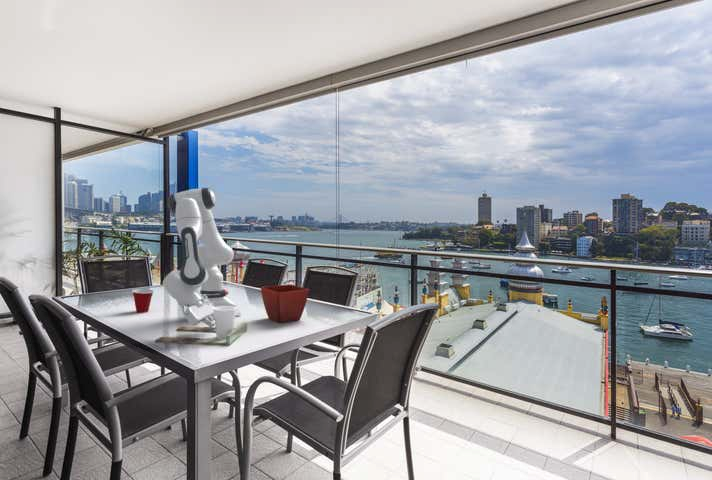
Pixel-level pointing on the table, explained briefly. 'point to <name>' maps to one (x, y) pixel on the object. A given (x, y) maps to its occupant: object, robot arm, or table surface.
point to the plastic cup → (142, 299)
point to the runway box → (228, 341)
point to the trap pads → (198, 338)
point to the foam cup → (224, 320)
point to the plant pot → (284, 302)
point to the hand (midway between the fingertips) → (213, 325)
